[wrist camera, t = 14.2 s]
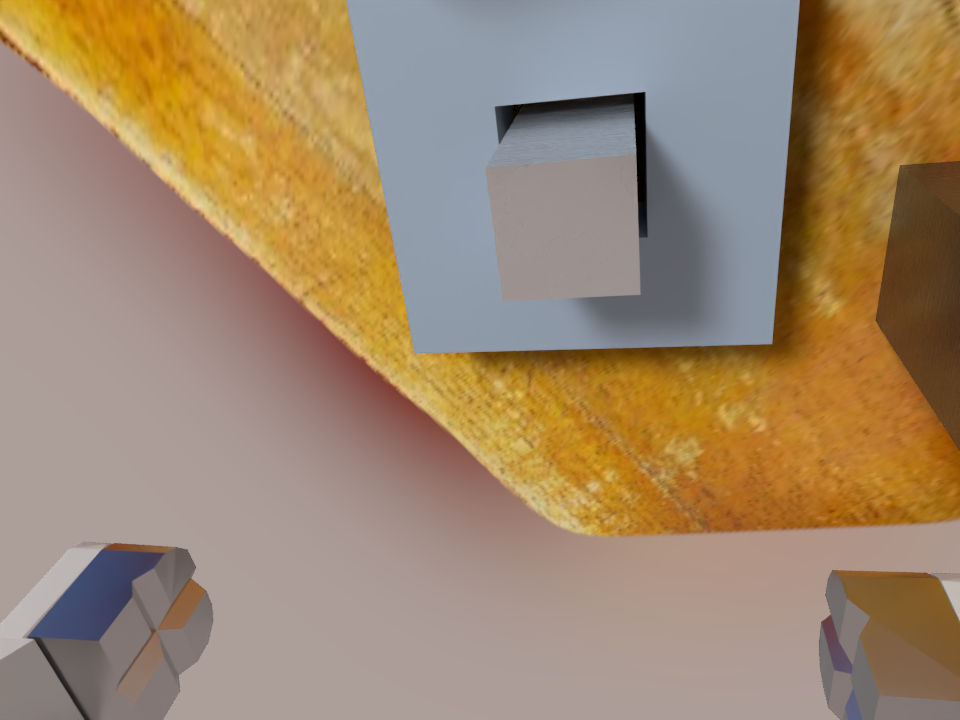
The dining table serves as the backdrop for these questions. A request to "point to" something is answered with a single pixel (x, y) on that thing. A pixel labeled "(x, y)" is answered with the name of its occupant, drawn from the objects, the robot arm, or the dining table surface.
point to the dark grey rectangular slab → (926, 284)
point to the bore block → (667, 155)
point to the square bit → (567, 200)
